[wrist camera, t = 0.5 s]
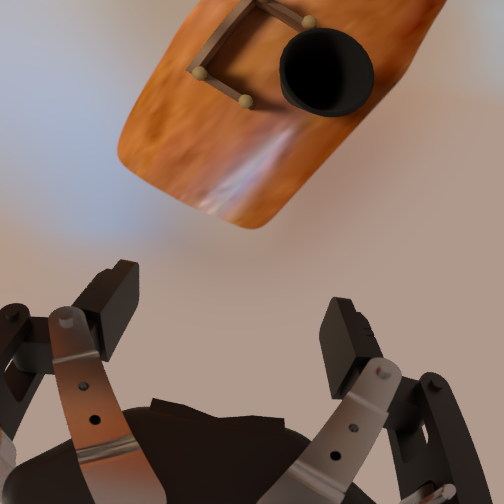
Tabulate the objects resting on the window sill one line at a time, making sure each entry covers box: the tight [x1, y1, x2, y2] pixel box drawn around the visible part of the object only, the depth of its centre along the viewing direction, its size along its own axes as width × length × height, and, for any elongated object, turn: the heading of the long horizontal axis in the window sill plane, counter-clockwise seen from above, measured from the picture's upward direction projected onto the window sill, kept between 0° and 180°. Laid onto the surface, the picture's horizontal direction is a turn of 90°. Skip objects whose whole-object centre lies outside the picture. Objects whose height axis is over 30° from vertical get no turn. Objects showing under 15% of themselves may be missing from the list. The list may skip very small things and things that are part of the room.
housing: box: [186, 0, 317, 110], centre depth 27 cm, size 13×8×4 cm, turn 145°
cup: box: [279, 28, 374, 117], centre depth 26 cm, size 8×8×12 cm
